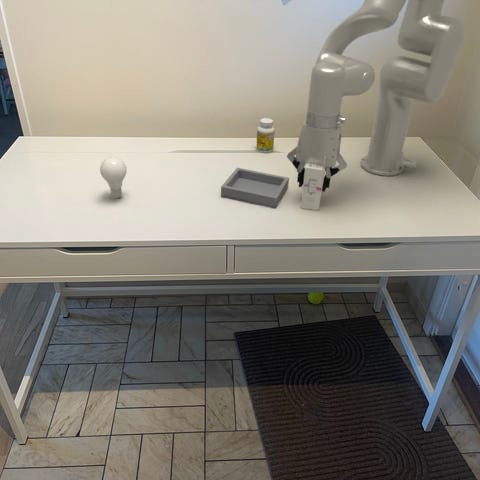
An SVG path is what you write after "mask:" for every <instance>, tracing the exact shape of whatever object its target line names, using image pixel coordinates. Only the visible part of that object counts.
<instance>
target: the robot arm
mask: <svg viewBox="0 0 480 480" xmlns="http://www.w3.org/2000/svg"><path fill="white" fill-rule="evenodd" d="M406 2H407V3H406ZM444 3H445V0H408V1H407V0H364V1H363V3H362V4H361V6H360V8H359V9H358V10H356V11H355V12H353V13H352V14H350V15H349V16H348V17H347V18H345V19H344V20H343V21H342V22H340V23H339V24H338V25H337V26H336V27H335V28H334V29H333V30H332V31H331V32H330V34H329V35H328V36H327V38H326V40H325V42H324V44H323V46H322V47H321V50H320V52H319V55H318V56H317V59H316V62H315V65H314V66H313V67H312V69H311V74H310V75H311V76H310V82H309V83H310V84H309V91H308V101H307V108H306V118H305V119H304V120H303V122H302V125H301V128H300V131H299V135H298V139H297V140H298V141H297V143H296V144H297V146H295V148H293V149H292V150H291V151H289V152H288V153H287V155H286V158H287V160H289V162H291V164H292V165H293V167H294V168H295V169H296V172H297V180H296V182H297V183H298V188H303V182H304V173H305V164H306V163H310V164H315V165H320V166H324V158H325V156H326V160H325V174H324V180H323V187H322V193H325V192H326V189H329V188H330V185H331V179H332V177H334V176H336V175H337V174H338V173H339V172H342V171H344V170H345V169H346V168H347V166H348V164H347V161H346V160H345V159H344V158H343V156H342V154H341V153H340V152H341V143H342V125H341V124H345V121H346V117H344V116H341V107H342V101H343V97H347V96H352V97H353V96H360V95H362V94H364V93H366V92H367V91H369V90H370V89H371V88H372V86H373V84H374V82H375V78H376V76H375V75H376V73H375V69H374V68H373V66H372V65H371V64H369V63H368V62H366V61H363V60H360V59H356V58H353V57H349V56H346V55H343V53H344V52H345V50H346V49H347V48H348V47H349V45H351V43H353V42H354V41H355V40H357V39H358V38H361V37H363V36H366V35H368V34H371V33H375V32H378V31H384V30H386V29H388V28H391V27H393V26H394V25H395V24H396V22H397V20H398V19H399V15H400V14H401V12H402V10H403V8H404V6H405V4H406V7H405V11H404V13H403V17H402V20H401V23H400V27H399V31H398V33H397V34H398V36H397V45H398V46H399V48H401V49H402V50H404V51H407V52H410V53H414V54H418V55H422V56H426V57H430V58H431V61H430V62H429V61H425V60H421V59H418V58H413V57H410V56H407V55H405V56H404V55H394V56H392V57H389V58H388V59H387V60H386V61H385V62H384V63H383V65H382V67H381V69H380V72H379V92H378V93H379V94H378V102H377V107H376V111H375V116H374V120H373V126H372V131H371V135H370V140H369V145H368V151H367V155H365V156H363V157H361V159H360V163H359V164H360V166H361V167H362V169H364V170H365V171H367V172H369V173H371V174H373V175H379V176H383V177H385V176H387V177H390V176H397V175H400V174H401V173H403V171H404V168H405V167H406V168H410V169H413V170H414V169H416V165H417V161H412V160H413V158H409V157H405V156H403V155H404V151H403V150H404V146H405V142H406V138H407V135H408V129H409V125H410V123H411V118H412V113H413V106H412V102H411V101H412V100H415V101H419V102H422V103H427V104H433V103H436V102H437V101H439V100H440V98H442V96H443V95H444V93H445V90H446V89H447V86H448V84H449V81H450V78H451V76H452V73H453V70H454V67H455V64H456V62H457V60H458V57H459V54H460V51H461V49H462V45H463V43H464V41H463V40H464V36H465V28H464V24H463V23H462V21H460V19H458V18H455V17H451V16H446V15H442V14H441V13H442V10H443V6H444ZM411 99H412V100H411ZM337 163H338V165H336V164H337Z"/></svg>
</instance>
